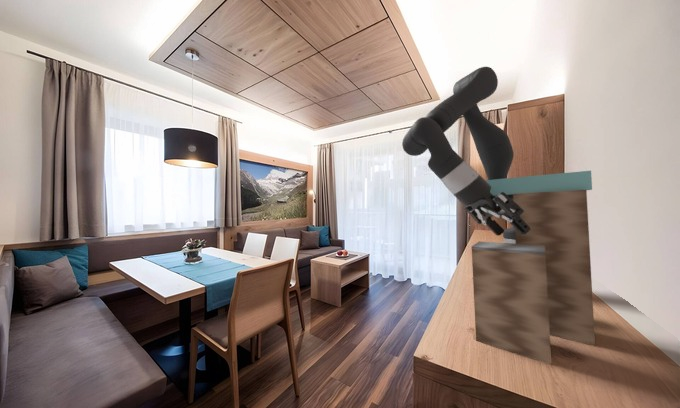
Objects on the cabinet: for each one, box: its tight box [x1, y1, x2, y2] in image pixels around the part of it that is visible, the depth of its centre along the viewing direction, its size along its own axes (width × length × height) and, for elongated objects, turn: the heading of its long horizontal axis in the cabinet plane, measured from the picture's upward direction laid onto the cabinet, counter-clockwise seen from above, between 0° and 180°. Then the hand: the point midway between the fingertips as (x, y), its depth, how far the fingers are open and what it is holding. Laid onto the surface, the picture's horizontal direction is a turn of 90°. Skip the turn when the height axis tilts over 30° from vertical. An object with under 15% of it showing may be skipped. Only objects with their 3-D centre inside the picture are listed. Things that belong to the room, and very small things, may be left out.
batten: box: [484, 170, 593, 195], centre depth 55 cm, size 22×4×4 cm, turn 48°
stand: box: [513, 190, 596, 347], centre depth 52 cm, size 12×7×32 cm, turn 48°
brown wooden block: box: [471, 241, 552, 365], centre depth 48 cm, size 12×8×21 cm, turn 48°
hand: (512, 232), depth 54 cm, fingers open, 8 cm apart
